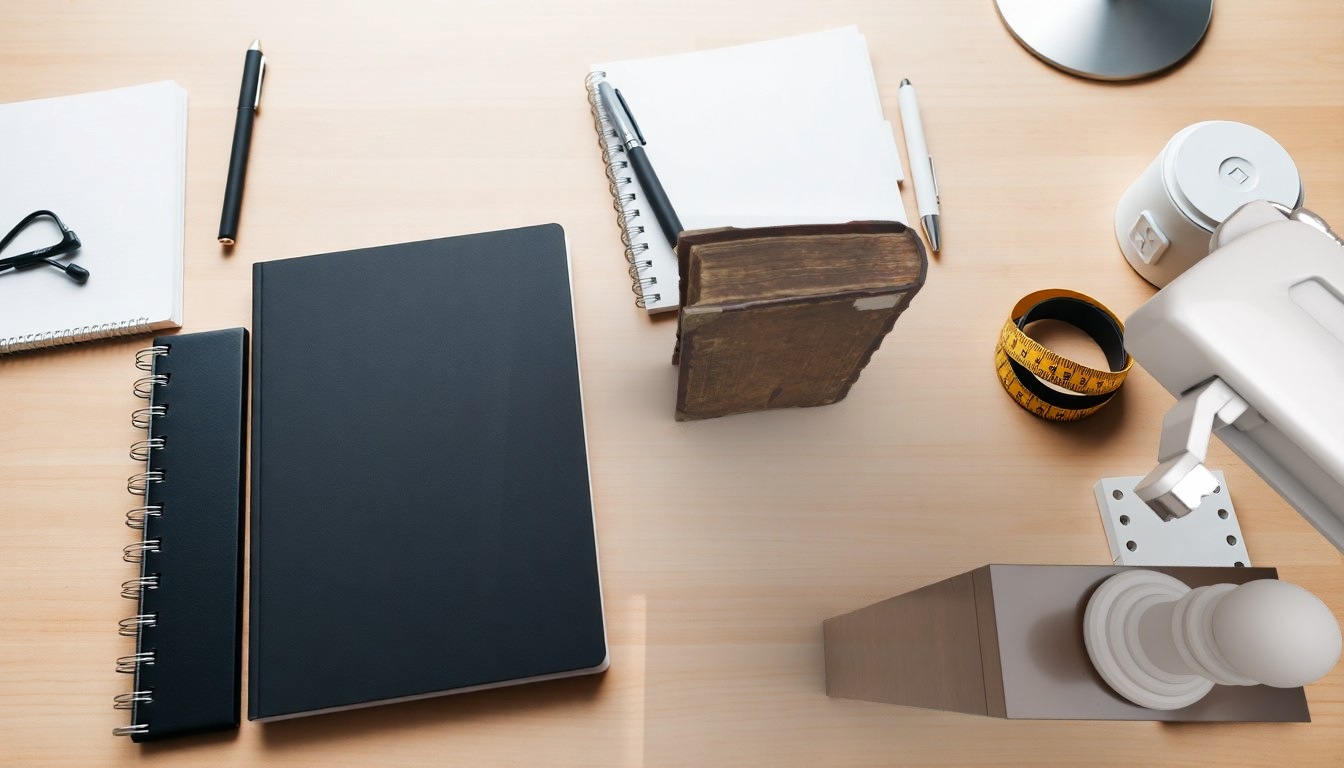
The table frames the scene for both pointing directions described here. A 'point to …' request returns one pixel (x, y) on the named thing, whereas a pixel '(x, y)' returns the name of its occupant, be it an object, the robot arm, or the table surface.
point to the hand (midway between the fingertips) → (1266, 611)
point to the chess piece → (1205, 637)
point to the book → (787, 311)
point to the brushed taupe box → (1018, 650)
